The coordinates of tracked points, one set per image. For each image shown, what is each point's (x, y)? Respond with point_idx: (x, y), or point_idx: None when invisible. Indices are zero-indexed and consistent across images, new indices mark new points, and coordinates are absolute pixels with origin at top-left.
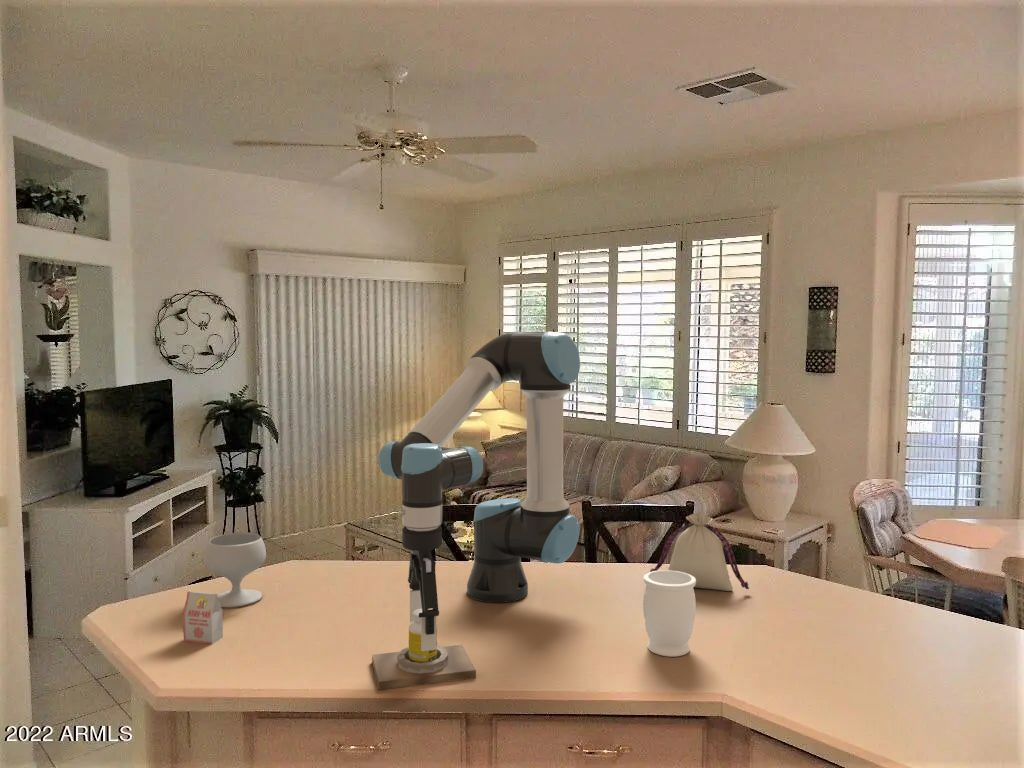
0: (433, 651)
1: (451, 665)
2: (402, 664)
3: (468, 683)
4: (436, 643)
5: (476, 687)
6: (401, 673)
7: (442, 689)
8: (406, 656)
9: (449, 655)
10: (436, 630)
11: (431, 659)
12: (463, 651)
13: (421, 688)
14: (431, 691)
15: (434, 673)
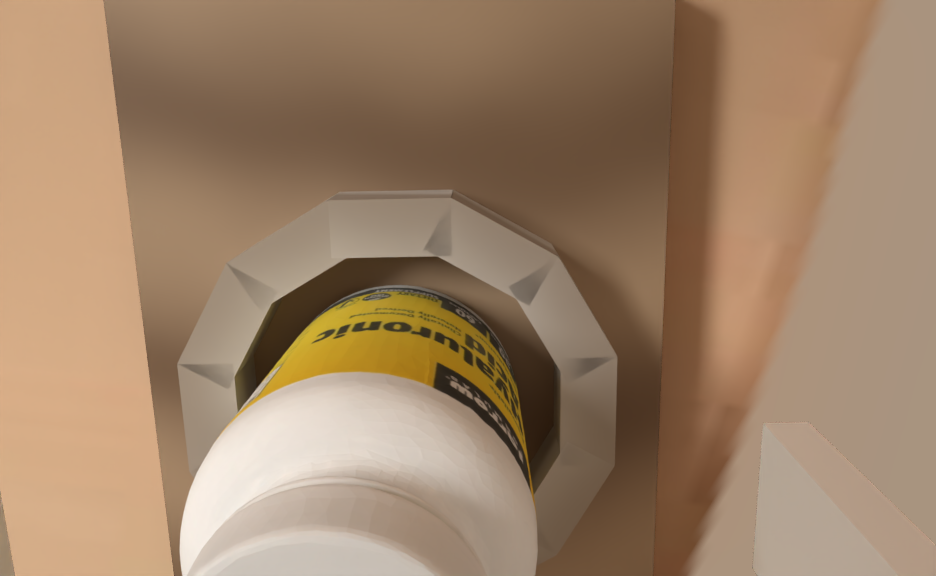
0: (490, 356)
1: (528, 174)
2: None
3: (734, 69)
4: (838, 452)
5: (822, 19)
6: (560, 561)
7: (764, 281)
8: None
9: (321, 154)
10: (441, 390)
11: (502, 355)
12: (259, 9)
13: (699, 418)
14: (767, 360)
15: (636, 334)
